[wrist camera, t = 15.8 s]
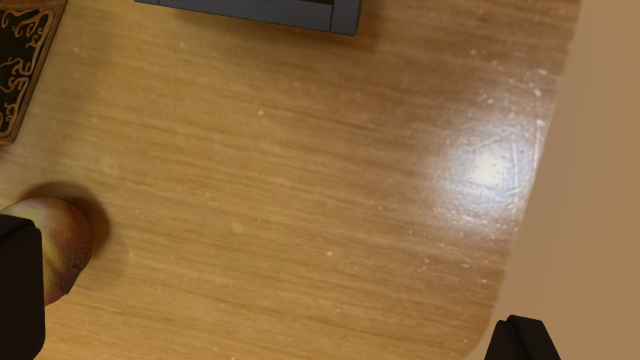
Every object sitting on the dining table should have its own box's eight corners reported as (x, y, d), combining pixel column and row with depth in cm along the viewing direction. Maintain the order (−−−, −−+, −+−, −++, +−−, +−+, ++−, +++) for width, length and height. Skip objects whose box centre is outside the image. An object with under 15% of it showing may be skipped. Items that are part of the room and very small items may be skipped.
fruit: (129, 214, 41) (74, 265, 33) (86, 287, 44) (28, 349, 36) (42, 160, 40) (-34, 201, 33) (5, 239, 43) (-73, 293, 35)
